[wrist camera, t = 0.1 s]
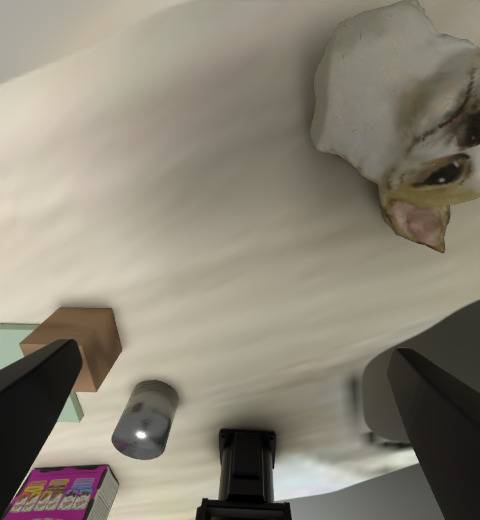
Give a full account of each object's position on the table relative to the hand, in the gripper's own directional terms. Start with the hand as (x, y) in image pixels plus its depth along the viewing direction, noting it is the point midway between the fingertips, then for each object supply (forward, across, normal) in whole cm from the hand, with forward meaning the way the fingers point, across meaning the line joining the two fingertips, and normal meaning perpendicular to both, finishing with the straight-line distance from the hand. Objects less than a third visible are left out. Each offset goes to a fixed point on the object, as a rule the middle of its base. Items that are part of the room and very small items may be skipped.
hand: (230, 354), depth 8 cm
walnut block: (+15, +15, +11) cm, 24 cm away
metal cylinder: (+15, +10, +20) cm, 27 cm away
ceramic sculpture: (+15, -10, -6) cm, 19 cm away
